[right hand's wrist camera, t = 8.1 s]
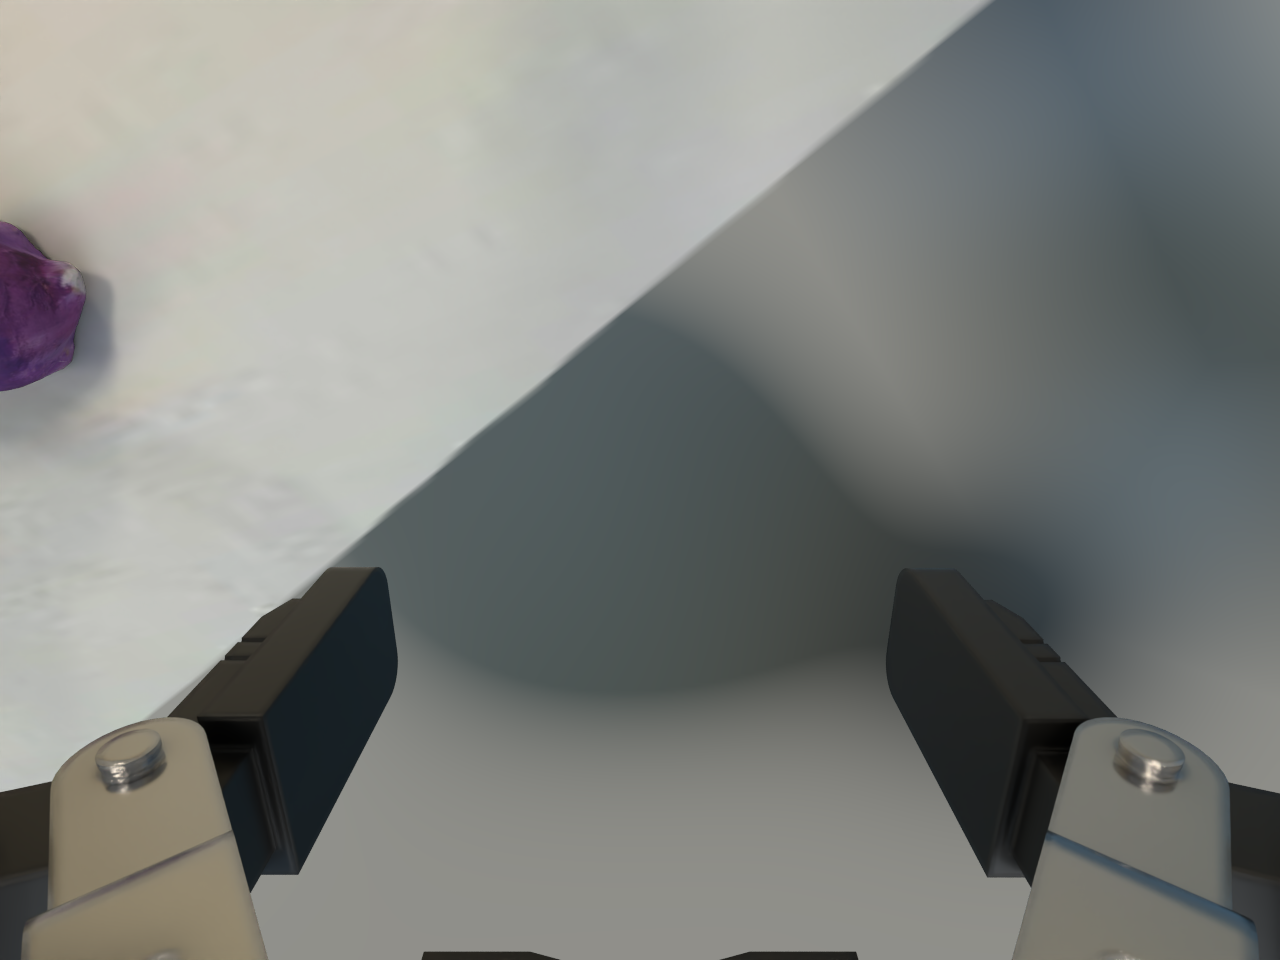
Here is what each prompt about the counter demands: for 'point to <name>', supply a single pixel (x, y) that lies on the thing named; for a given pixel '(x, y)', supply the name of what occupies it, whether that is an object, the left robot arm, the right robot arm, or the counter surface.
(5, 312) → the figurine
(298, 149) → the counter surface
